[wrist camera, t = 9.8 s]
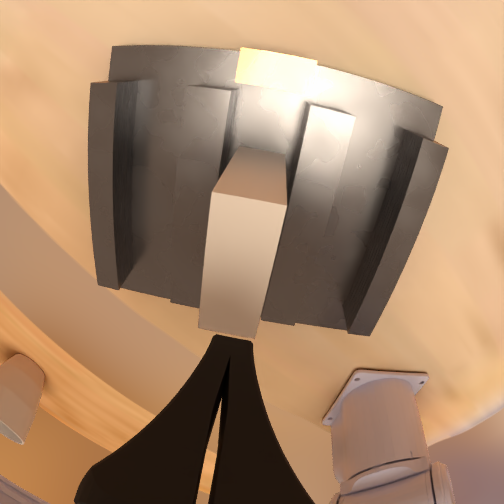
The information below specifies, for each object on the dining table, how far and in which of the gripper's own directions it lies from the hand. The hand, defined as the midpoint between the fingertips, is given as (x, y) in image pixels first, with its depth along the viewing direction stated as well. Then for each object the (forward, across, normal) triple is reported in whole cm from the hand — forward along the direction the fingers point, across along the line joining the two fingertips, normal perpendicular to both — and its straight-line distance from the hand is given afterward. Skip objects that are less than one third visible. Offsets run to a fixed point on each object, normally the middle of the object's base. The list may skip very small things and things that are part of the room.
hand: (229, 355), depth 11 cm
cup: (+10, +25, +25) cm, 37 cm away
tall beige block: (+9, 0, -2) cm, 9 cm away
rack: (+10, 0, -2) cm, 10 cm away
